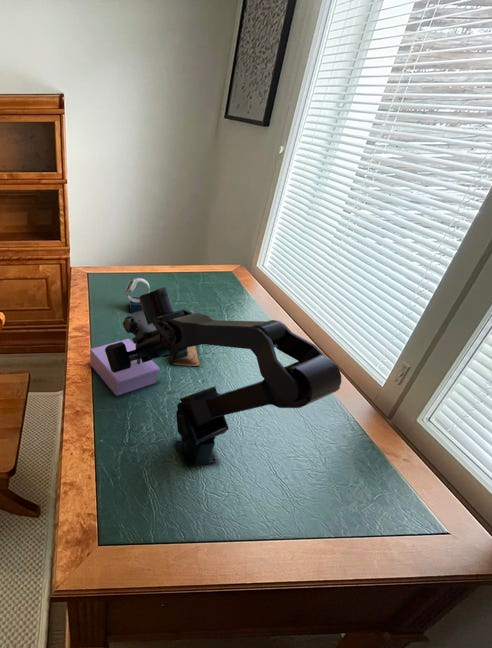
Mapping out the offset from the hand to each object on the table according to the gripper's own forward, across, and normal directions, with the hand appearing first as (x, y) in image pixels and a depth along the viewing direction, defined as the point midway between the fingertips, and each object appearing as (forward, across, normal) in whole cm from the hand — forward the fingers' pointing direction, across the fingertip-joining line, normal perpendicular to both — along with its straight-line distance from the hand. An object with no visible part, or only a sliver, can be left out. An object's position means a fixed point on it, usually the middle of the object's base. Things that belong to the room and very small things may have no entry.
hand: (129, 356), depth 96 cm
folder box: (+7, 0, +3) cm, 8 cm away
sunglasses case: (+9, -22, +2) cm, 24 cm away
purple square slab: (+4, 0, 0) cm, 4 cm away
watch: (+28, -22, -17) cm, 39 cm away
